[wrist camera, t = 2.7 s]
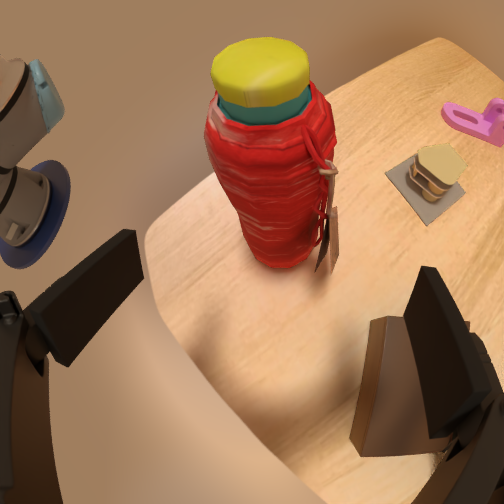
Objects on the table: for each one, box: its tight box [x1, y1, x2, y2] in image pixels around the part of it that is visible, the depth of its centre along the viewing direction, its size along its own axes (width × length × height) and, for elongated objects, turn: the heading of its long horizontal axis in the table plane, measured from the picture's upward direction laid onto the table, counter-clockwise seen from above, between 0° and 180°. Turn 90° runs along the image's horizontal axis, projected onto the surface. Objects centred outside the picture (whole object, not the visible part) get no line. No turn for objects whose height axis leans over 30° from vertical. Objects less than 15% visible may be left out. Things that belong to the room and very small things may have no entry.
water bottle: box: [204, 37, 339, 274], centre depth 22 cm, size 12×8×25 cm, turn 43°
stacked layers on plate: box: [385, 143, 468, 226], centre depth 31 cm, size 10×9×6 cm
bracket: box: [441, 98, 504, 147], centre depth 32 cm, size 13×6×7 cm, turn 77°
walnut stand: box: [350, 316, 470, 457], centre depth 24 cm, size 10×14×6 cm
